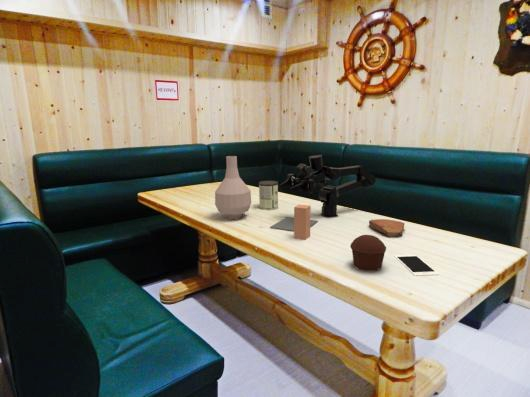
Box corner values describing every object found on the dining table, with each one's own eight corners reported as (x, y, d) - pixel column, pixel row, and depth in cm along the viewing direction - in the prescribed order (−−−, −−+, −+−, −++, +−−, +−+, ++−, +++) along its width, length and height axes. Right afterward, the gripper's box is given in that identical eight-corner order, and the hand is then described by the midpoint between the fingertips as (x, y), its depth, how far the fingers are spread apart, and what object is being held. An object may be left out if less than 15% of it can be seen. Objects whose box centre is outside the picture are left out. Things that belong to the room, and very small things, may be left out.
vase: (209, 216, 179) (206, 156, 172) (239, 210, 189) (237, 153, 182) (227, 224, 165) (224, 159, 158) (258, 217, 175) (257, 156, 168)
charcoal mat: (286, 217, 174) (286, 216, 174) (318, 221, 166) (318, 220, 166) (270, 228, 158) (270, 227, 158) (303, 232, 151) (303, 231, 151)
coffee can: (260, 205, 199) (259, 180, 196) (278, 205, 198) (278, 180, 195) (258, 210, 189) (257, 184, 186) (277, 210, 188) (277, 184, 185)
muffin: (391, 272, 112) (393, 242, 110) (356, 274, 111) (358, 243, 109) (376, 257, 124) (378, 230, 121) (345, 259, 123) (346, 231, 120)
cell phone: (414, 277, 109) (415, 275, 109) (393, 257, 125) (393, 255, 125) (439, 276, 110) (439, 274, 110) (415, 256, 125) (415, 254, 125)
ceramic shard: (366, 223, 145) (368, 218, 159) (368, 239, 146) (370, 233, 160) (405, 221, 140) (403, 216, 155) (406, 237, 141) (405, 231, 155)
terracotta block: (298, 234, 149) (299, 204, 146) (310, 236, 147) (310, 205, 144) (294, 238, 145) (294, 207, 142) (305, 239, 143) (305, 208, 140)
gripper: (299, 160, 173) (272, 168, 167) (323, 164, 157) (293, 173, 150) (302, 182, 176) (275, 190, 170) (325, 188, 160) (297, 198, 154)
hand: (284, 187), depth 161 cm, fingers open, 9 cm apart
